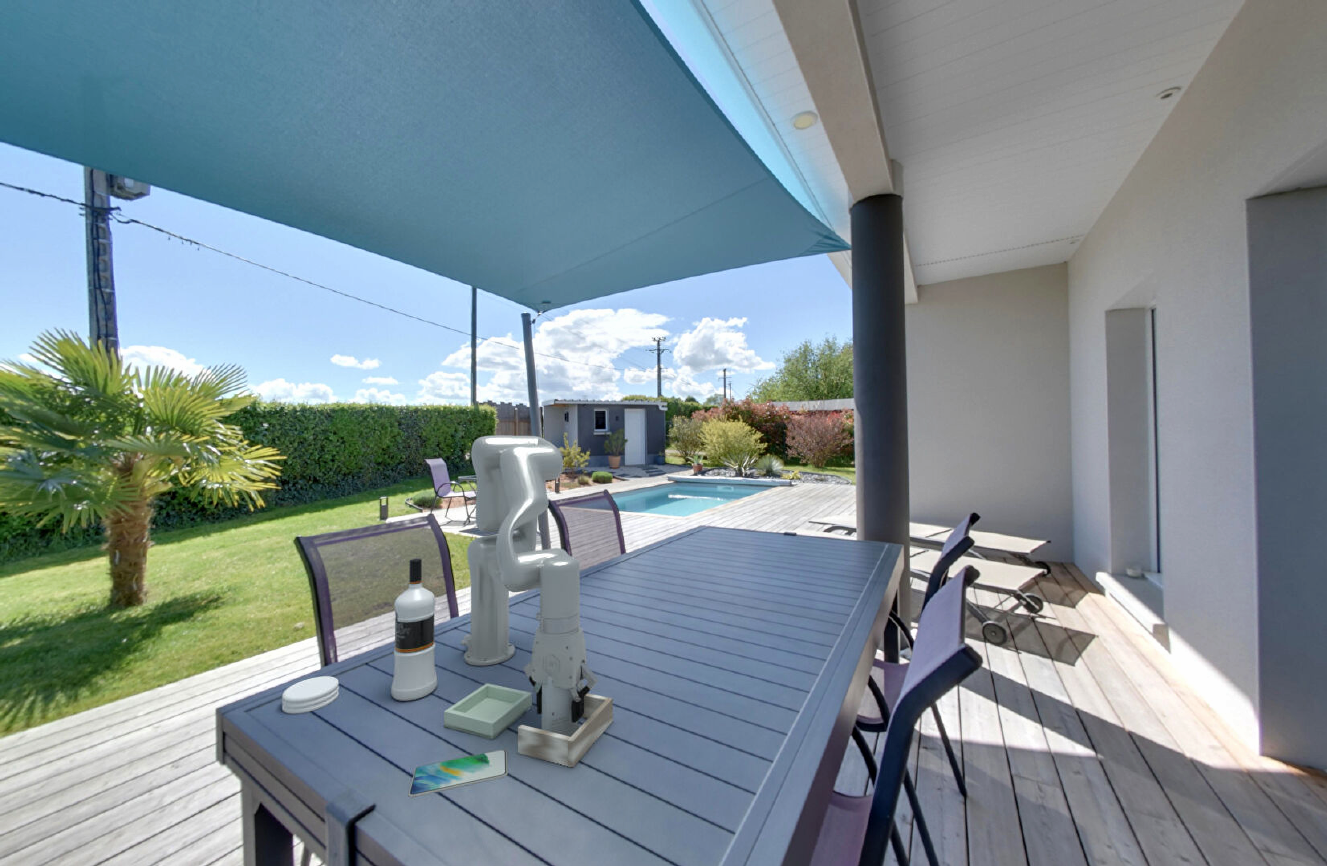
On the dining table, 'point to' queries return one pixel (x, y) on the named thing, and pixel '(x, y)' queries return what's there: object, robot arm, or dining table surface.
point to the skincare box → (557, 710)
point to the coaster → (310, 694)
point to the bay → (564, 746)
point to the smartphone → (458, 773)
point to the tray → (488, 710)
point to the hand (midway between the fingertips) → (560, 714)
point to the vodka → (414, 639)
